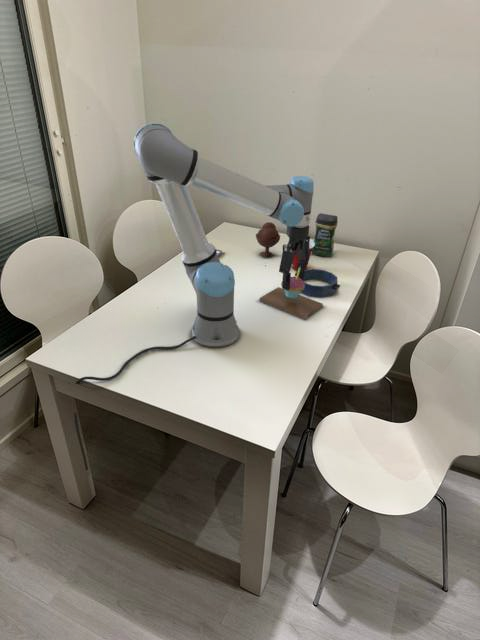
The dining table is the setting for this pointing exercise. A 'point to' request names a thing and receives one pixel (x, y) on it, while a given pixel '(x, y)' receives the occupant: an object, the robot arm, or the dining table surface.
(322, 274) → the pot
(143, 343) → the dining table surface
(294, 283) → the cupcake
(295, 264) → the plastic cup
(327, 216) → the coffee jar
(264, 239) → the ice cream bowl
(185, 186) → the robot arm
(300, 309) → the cutting board
